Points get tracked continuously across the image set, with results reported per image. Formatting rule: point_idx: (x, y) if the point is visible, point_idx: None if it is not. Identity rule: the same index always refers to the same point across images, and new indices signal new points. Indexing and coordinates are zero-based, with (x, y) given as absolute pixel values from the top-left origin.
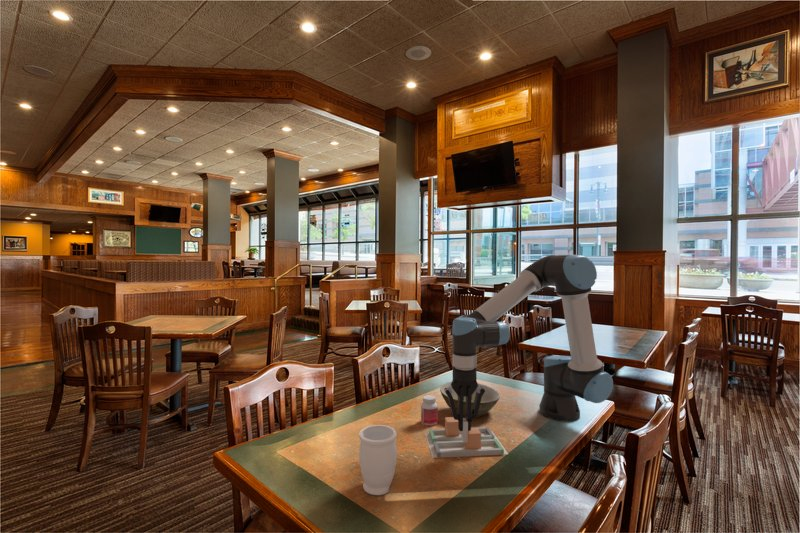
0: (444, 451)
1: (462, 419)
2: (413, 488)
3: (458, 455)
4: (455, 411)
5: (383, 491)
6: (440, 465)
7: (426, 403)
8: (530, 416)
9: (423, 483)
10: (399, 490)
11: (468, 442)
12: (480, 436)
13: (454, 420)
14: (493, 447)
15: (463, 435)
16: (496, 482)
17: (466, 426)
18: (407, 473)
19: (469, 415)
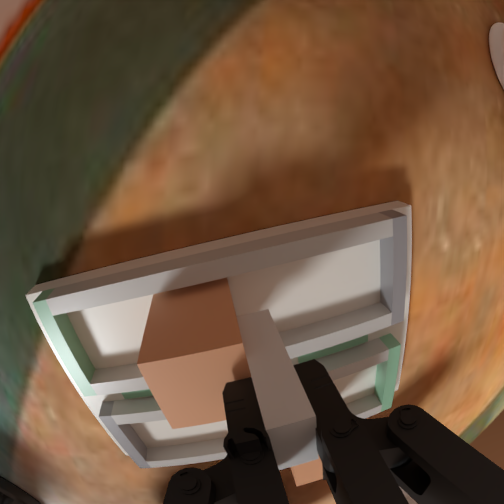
0: (373, 231)
1: (333, 434)
2: (444, 27)
3: (288, 233)
4: (447, 469)
5: (501, 23)
6: (368, 177)
7: (406, 497)
8: (52, 498)
9: (423, 46)
10: (472, 30)
11: (233, 306)
12: (143, 347)
13: (314, 462)
14: (96, 349)
15: (279, 336)
16: (98, 56)
17: (271, 392)
18: (470, 119)
19: (260, 492)
